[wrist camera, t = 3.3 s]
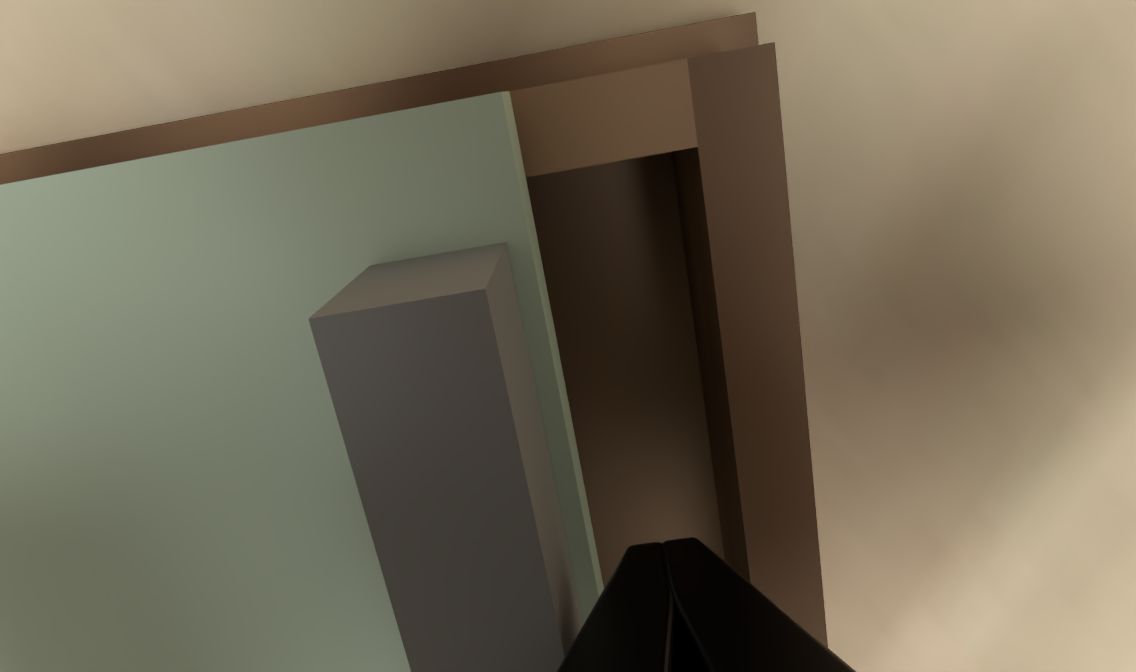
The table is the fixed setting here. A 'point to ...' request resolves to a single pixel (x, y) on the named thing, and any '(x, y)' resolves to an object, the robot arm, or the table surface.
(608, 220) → the wooden box
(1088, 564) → the table surface
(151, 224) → the slide cover
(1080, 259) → the table surface
